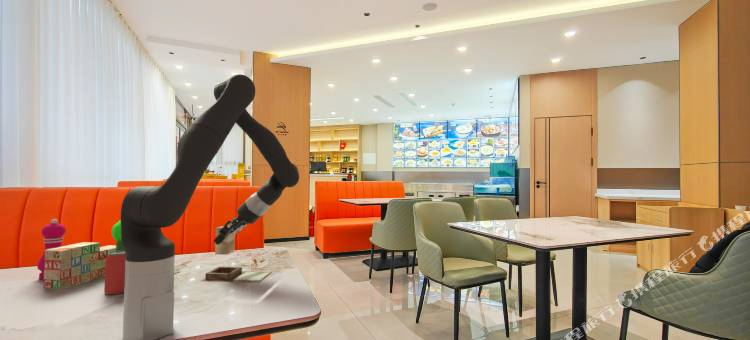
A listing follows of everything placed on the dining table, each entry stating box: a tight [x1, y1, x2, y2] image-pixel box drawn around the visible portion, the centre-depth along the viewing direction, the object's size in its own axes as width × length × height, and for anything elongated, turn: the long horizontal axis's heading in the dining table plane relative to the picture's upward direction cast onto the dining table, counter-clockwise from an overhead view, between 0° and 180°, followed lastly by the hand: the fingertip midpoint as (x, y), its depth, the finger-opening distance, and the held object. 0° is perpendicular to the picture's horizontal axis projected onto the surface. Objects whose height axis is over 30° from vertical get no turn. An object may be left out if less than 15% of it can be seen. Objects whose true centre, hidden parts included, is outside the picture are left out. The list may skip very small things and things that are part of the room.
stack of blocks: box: [42, 241, 116, 290], centre depth 110 cm, size 21×6×12 cm, turn 172°
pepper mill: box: [37, 218, 67, 281], centre depth 112 cm, size 7×7×20 cm
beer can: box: [103, 250, 126, 296], centre depth 99 cm, size 7×7×12 cm
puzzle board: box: [200, 266, 273, 284], centre depth 112 cm, size 20×12×3 cm, turn 88°
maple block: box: [214, 225, 236, 256], centre depth 112 cm, size 4×4×9 cm
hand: (219, 241), depth 112 cm, fingers closed on maple block, 4 cm apart
